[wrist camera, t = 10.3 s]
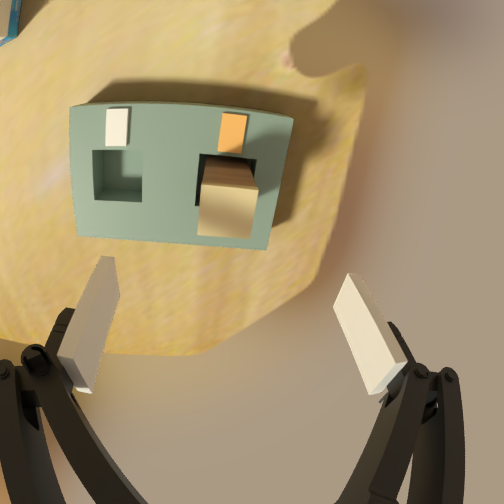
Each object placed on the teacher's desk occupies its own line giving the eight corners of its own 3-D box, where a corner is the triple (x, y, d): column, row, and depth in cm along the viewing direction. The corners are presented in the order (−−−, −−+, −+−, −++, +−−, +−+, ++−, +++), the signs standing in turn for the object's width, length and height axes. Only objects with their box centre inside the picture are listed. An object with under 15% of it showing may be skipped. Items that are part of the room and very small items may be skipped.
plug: (206, 153, 31) (201, 184, 22) (246, 157, 32) (258, 190, 23) (202, 189, 34) (197, 235, 24) (240, 193, 34) (249, 239, 25)
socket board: (86, 103, 26) (68, 107, 22) (284, 114, 30) (294, 119, 26) (90, 219, 35) (76, 237, 31) (261, 232, 39) (266, 252, 35)
